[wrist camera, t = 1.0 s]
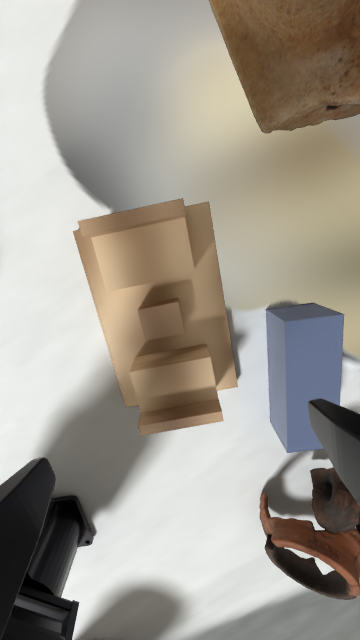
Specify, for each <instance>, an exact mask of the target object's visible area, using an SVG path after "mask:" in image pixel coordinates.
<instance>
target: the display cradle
mask: <svg viewBox="0 0 360 640" xmlns="http://www.w3.org/2000/svg"><path fill="white" fill-rule="evenodd" d="M78 224H79V227H80V230H76V231H73V234H74V237H75V240H76V244H77V247H78V250H79V254H80V257H81V260H82V263H83V267H84V270H85V273H86V277H87V280H88V283H89V287H90V290H91V293H92V297H93V300H94V303H95V307H96V310H97V313H98V317H99V320H100V323H101V327H102V330H103V333H104V337H105V340H106V343H107V347H108V350H109V353H110V357H111V360H112V363H113V367H114V370H115V373H116V377H117V380H118V383H119V387H120V390H121V393H122V397H123V400H124V403H125V407H132V406H137V405H139V409H140V412H141V414H140V419H139V423H138V429H139V432H140V436H142V435H148V434H154V433H159V432H165V431H170V430H176V429H181V428H187V427H193V426H198V425H204V424H209V423H215V422H221V421H223V415H222V410H221V407H220V403H219V400H218V395H217V391H218V390H224V389H229V388H234V387H238V384H237V378H236V372H235V365H234V359H233V352H232V346H231V340H230V333H229V327H228V320H227V314H226V308H225V301H224V295H223V289H222V282H221V276H220V269H219V263H218V257H217V250H216V244H215V238H214V231H213V225H212V218H211V212H210V206H209V202H205V203H200V204H196V205H191V206H186V207H185V206H184V202H183V199H178V200H174V201H169V202H164V203H160V204H155V205H150V206H146V207H142V208H137V209H132V210H128V211H123V212H118V213H114V214H109V215H104V216H100V217H95V218H91V219H86V220H82V221H78Z"/></svg>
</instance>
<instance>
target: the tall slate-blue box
mask: <svg viewBox="0 0 360 640" xmlns="http://www.w3.org/2000/svg"><path fill="white" fill-rule="evenodd" d="M266 324H267V350H268V376H269V402H270V422H271V424H272V426H273V428H274V430H275V431H276V433H277V435H278V437H279V439H280V441H281V442H282V444H283V446H284V448H285V450H286V452H287V453H292V452H301V451H309V450H318V449H323V447H322V445H321V443H320V442H319V440H318V438H317V436H316V435H315V433H314V431H313V429H312V427H311V424H310V419H309V411H308V402H309V401H310V400H314V399H318V398H322V399H325V400H327V401H330V402H332V403H334V404H337V405H339V406H340V388H341V367H342V346H343V325H344V314H342V313H339V312H337V311H334V310H331V309H329V308H326V307H323V306H320V305H318V304H315V303H306V304H300V305H296V306H288V307H281V308H273V309H266Z"/></svg>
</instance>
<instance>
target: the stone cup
mask: <svg viewBox="0 0 360 640" xmlns="http://www.w3.org/2000/svg"><path fill="white" fill-rule="evenodd" d="M209 2H210V5H211V8H212V11H213V13H214V16H215V18H216V21H217V23H218V26H219V28H220V31H221V33H222V36H223V39H224V41H225V44H226V47H227V49H228V52H229V55H230V57H231V60H232V62H233V64H234V67H235V70H236V72H237V75H238V77H239V79H240V82H241V84H242V87H243V89H244V92H245V94H246V97H247V99H248V102H249V104H250V107H251V110H252V112H253V115H254V117H255V119H256V121H257V123H258V125H259V127H260V129H261V131H262V132H264V133H271V132H272V131H273V130H290V131H292V130H294V129H296V128H301V127H305V126H308V125H313V126H314V125H317V124H320V123H322V122H323V121H326V120H330V119H332V120H338V119H344V118H348V117H352V116H355V115H357V114H360V0H209Z"/></svg>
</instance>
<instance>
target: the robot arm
mask: <svg viewBox="0 0 360 640" xmlns="http://www.w3.org/2000/svg"><path fill="white" fill-rule="evenodd" d="M308 411H309V419H310V424H311V427H312V429H313V431H314V433H315V435H316V436H317V438H318V440H319V442H320V443H321V445H322V447H323V449H324V451H325V452H326V454H327V456H328V458H329V459H330V461H331V463H332V465H333V466H334V468H335V470H336V472H337V473H338V475H339V477H340V478H341V480H342V481H343V483H344V484H345V485H346V487H347V488H348V490H349V491H350V493H351V494H352V495H353V497H354V498H355V500H356V501H357V503H358V504H359V505H360V414H358V413H356V412H354V411H351V410H349V409H346V408H344V407H342V406H339V405H337V404H334V403H332V402H330V401H327V400H325V399H322V398H318V399H314V400H310V401H309V402H308ZM55 480H56V478H55V474H54V472H53V470H52V467H51V465H50V463H49V461H48V459H46V458H44V457H43V458H38V459H34V460H32V461H30V462H29V463H28V464H27V465H25V466H24V467H23V468H22V469H20V470H19V471H18V472H17V473H15V474H14V475H13V476H11V477H10V478H9V479H8V480H6V481H5V482H4V483H3V484H1V485H0V640H72V636H73V631H74V626H75V621H76V616H77V611H78V606H79V602H77V601H74V600H73V601H69V600H67V599H64V598H61V595H62V592H63V589H64V586H65V583H66V580H67V578H68V575H69V572H70V569H71V566H72V563H73V560H74V557H75V554H76V551H77V548H78V547H82V546H88V545H91V544H92V542H93V539H94V538H93V535H92V533H91V530H90V528H89V525H88V523H87V520H86V518H85V515H84V513H83V510H82V508H81V505H80V503H79V501H78V498H77V497H76V496H68V497H62V498H56V499H51V496H52V493H53V489H54V486H55Z"/></svg>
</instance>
